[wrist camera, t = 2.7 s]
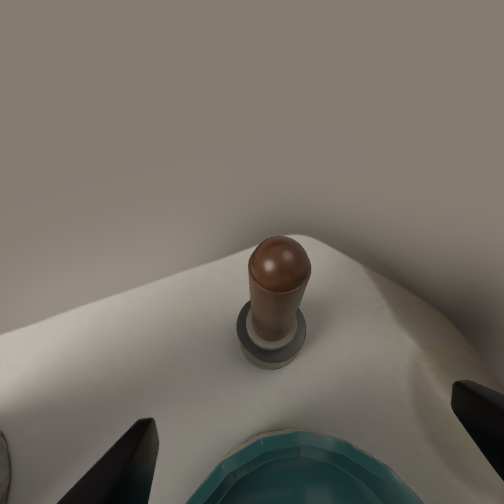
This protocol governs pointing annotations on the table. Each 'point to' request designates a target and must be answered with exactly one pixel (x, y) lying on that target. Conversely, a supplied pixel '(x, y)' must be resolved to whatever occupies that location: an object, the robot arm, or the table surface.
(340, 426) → the table surface
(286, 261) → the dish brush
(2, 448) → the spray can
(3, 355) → the table surface
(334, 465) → the bowl
